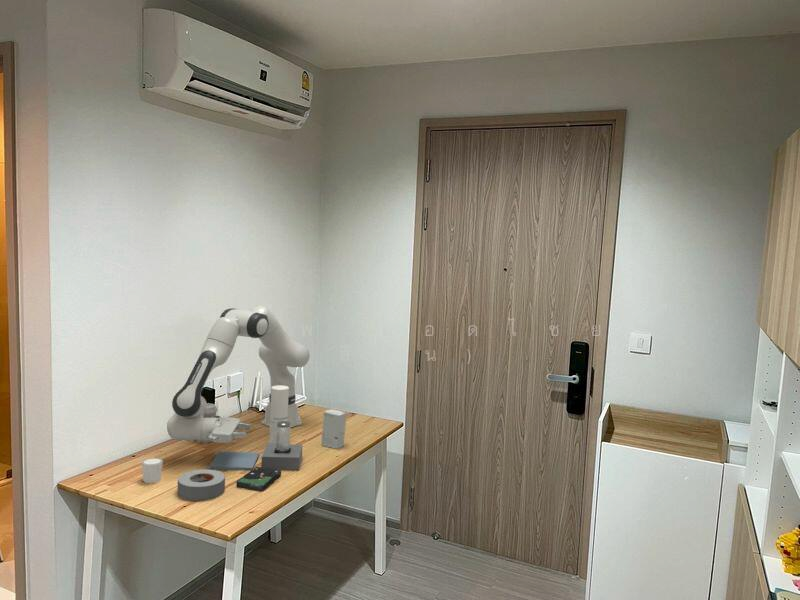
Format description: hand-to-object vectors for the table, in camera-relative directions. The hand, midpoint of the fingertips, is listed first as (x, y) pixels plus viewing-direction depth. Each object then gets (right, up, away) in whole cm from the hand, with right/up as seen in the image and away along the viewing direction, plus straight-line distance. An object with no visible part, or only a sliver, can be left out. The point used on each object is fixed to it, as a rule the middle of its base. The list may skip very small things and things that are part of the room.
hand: (248, 430), depth 230 cm
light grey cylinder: (-29, -13, -20) cm, 37 cm away
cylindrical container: (+7, -11, +21) cm, 25 cm away
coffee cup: (-24, -9, +23) cm, 34 cm away
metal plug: (+13, -13, +3) cm, 18 cm away
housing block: (+13, -13, +3) cm, 18 cm away
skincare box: (+30, -12, +25) cm, 41 cm away
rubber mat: (-5, -12, +1) cm, 13 cm away
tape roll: (-9, -15, -26) cm, 32 cm away
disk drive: (+8, -15, -16) cm, 23 cm away
